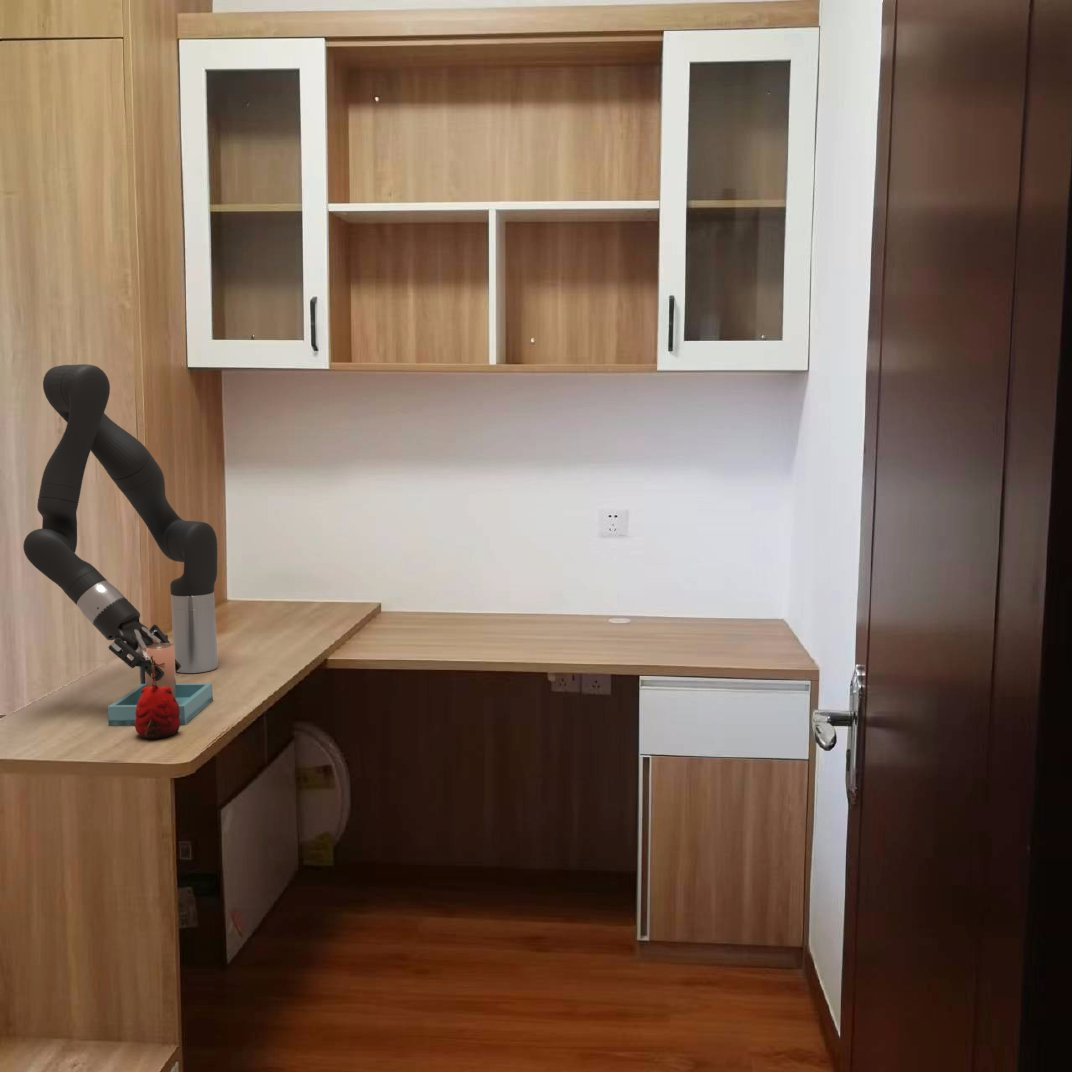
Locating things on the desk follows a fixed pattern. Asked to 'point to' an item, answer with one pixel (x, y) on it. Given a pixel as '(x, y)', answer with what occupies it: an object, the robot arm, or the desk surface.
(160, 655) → the terracotta cup
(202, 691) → the teal tray
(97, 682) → the desk surface
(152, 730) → the red clay folk toy
